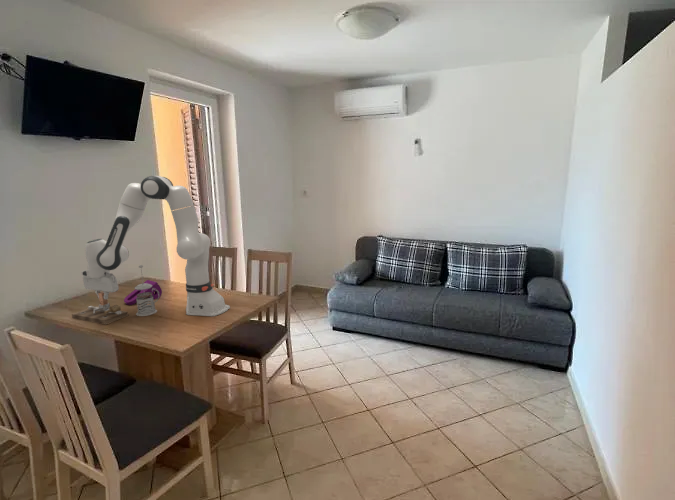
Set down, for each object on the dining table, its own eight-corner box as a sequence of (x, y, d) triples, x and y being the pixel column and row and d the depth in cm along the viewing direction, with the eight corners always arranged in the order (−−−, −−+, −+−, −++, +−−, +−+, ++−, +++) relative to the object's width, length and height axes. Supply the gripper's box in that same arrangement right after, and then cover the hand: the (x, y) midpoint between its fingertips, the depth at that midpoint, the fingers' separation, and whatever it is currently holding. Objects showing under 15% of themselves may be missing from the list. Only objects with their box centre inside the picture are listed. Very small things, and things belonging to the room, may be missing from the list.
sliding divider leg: (110, 309, 192) (107, 291, 190) (95, 314, 185) (93, 296, 183) (106, 308, 193) (103, 291, 191) (91, 314, 186) (88, 295, 184)
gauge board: (128, 315, 190) (126, 304, 189) (106, 324, 180) (104, 313, 178) (95, 309, 199) (93, 299, 198) (72, 317, 188) (70, 307, 187)
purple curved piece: (138, 315, 207) (164, 293, 219) (129, 303, 203) (156, 282, 214) (129, 311, 213) (154, 290, 224) (120, 300, 208) (147, 279, 220)
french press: (137, 310, 197) (131, 263, 192) (161, 307, 201) (156, 261, 196) (134, 317, 188) (128, 268, 183) (160, 313, 192) (154, 265, 187)
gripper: (119, 272, 186) (123, 298, 189) (91, 268, 194) (95, 294, 196) (108, 275, 180) (112, 303, 183) (79, 271, 188) (83, 298, 191)
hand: (103, 298), depth 190 cm, fingers closed on sliding divider leg, 2 cm apart
